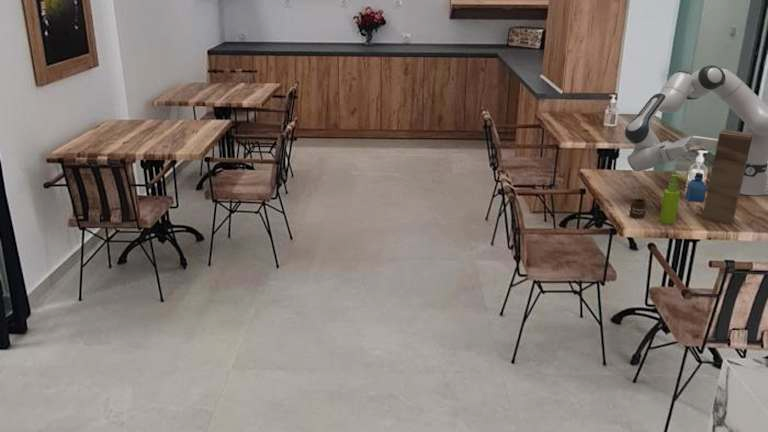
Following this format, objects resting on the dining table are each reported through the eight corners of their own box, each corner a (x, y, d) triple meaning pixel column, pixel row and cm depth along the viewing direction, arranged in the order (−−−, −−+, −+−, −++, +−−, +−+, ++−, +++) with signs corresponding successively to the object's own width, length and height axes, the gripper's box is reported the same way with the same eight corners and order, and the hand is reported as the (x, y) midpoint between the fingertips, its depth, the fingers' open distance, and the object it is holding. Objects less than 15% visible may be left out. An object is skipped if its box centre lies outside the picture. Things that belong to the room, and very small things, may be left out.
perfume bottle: (703, 202, 290) (708, 176, 286) (688, 201, 291) (693, 175, 287) (700, 197, 296) (705, 172, 291) (685, 196, 297) (690, 171, 292)
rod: (692, 142, 269) (693, 135, 268) (745, 150, 259) (746, 143, 258) (690, 144, 267) (692, 137, 266) (744, 152, 257) (745, 144, 256)
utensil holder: (628, 213, 276) (632, 186, 271) (643, 214, 275) (648, 187, 270) (630, 218, 270) (634, 190, 266) (646, 219, 269) (651, 192, 265)
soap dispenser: (674, 226, 263) (683, 178, 256) (656, 221, 267) (665, 175, 260) (679, 221, 267) (687, 175, 260) (661, 217, 271) (670, 171, 264)
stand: (705, 212, 278) (722, 129, 264) (734, 218, 272) (753, 133, 259) (702, 219, 271) (719, 133, 257) (731, 224, 265) (750, 137, 252)
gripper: (674, 153, 283) (708, 141, 274) (664, 164, 267) (699, 152, 258) (669, 139, 282) (702, 128, 274) (658, 150, 266) (693, 137, 258)
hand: (701, 140), depth 266 cm, fingers closed on rod, 3 cm apart
